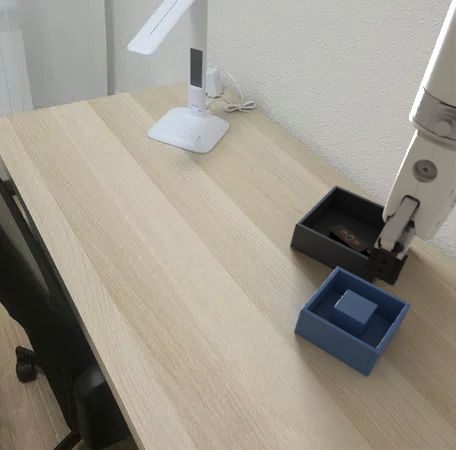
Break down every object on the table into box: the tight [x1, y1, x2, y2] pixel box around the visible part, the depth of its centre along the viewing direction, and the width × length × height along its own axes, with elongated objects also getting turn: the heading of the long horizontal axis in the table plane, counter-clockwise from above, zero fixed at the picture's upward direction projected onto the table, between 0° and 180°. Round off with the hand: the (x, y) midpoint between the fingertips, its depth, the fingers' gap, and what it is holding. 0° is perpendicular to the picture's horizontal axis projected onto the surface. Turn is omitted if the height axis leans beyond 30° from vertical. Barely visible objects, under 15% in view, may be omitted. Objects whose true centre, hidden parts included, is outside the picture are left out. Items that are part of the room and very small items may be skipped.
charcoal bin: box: [289, 184, 409, 285], centre depth 91 cm, size 14×14×5 cm
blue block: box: [329, 290, 378, 339], centre depth 78 cm, size 4×4×4 cm
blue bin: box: [293, 266, 412, 377], centre depth 78 cm, size 11×11×5 cm
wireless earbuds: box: [328, 225, 372, 257], centre depth 90 cm, size 5×7×3 cm, turn 31°
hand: (397, 252), depth 59 cm, fingers open, 9 cm apart
